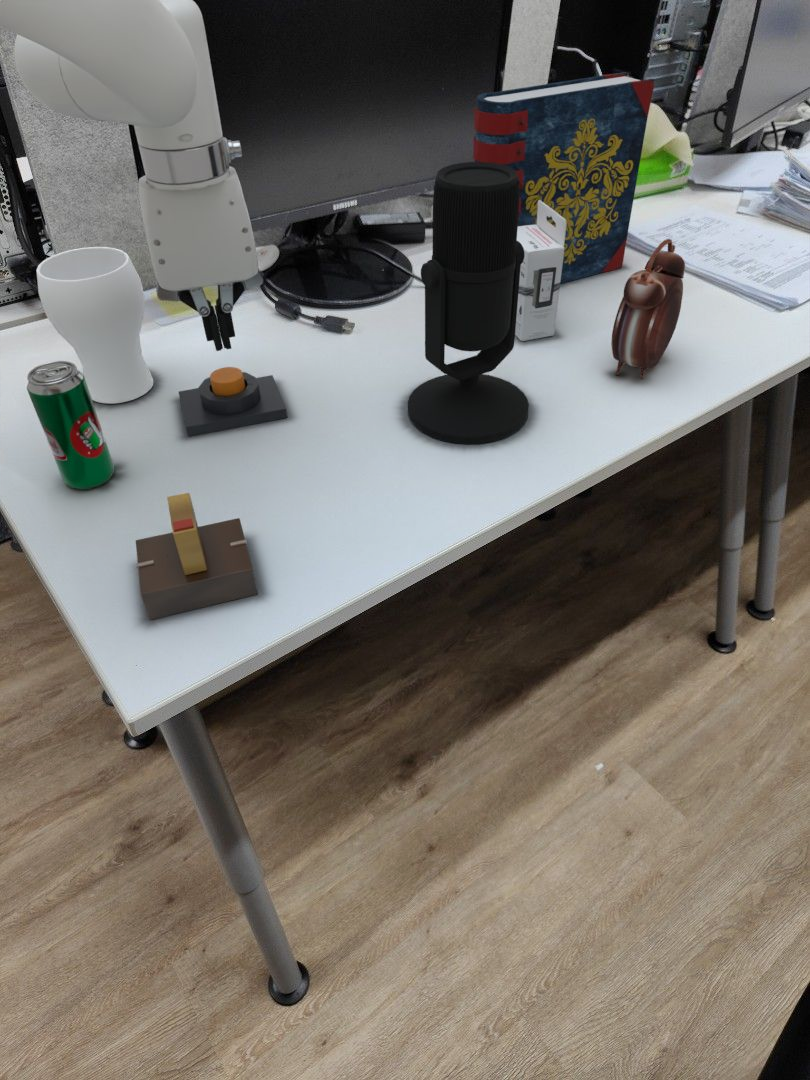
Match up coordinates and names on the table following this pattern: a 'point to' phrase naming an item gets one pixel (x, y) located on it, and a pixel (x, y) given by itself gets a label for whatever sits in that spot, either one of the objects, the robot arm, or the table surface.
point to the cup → (99, 318)
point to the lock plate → (179, 592)
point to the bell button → (227, 381)
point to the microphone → (471, 306)
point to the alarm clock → (649, 310)
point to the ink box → (540, 274)
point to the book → (572, 158)
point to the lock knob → (186, 533)
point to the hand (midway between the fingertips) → (222, 344)
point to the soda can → (70, 424)
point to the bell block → (231, 406)
